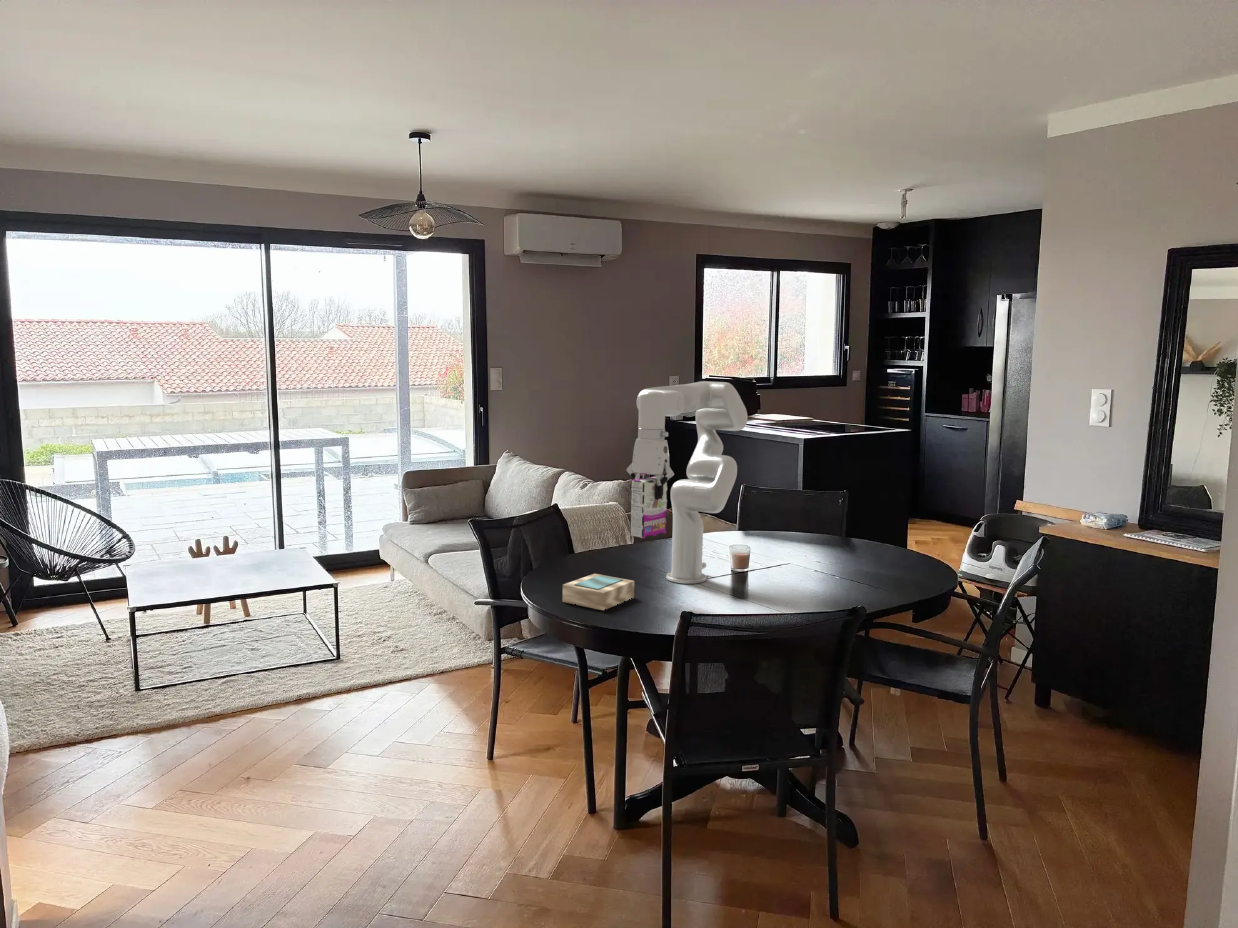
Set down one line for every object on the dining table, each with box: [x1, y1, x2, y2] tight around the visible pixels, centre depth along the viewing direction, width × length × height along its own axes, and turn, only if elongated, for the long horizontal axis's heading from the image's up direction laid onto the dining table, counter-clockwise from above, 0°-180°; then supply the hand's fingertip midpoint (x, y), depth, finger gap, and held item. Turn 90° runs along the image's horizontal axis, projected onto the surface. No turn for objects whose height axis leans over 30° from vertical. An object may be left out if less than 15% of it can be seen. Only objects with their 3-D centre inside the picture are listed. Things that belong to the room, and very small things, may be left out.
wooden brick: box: [561, 573, 635, 611], centre depth 264 cm, size 16×14×5 cm
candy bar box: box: [630, 476, 668, 539], centre depth 265 cm, size 11×5×16 cm, turn 139°
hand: (649, 497), depth 264 cm, fingers closed on candy bar box, 5 cm apart
